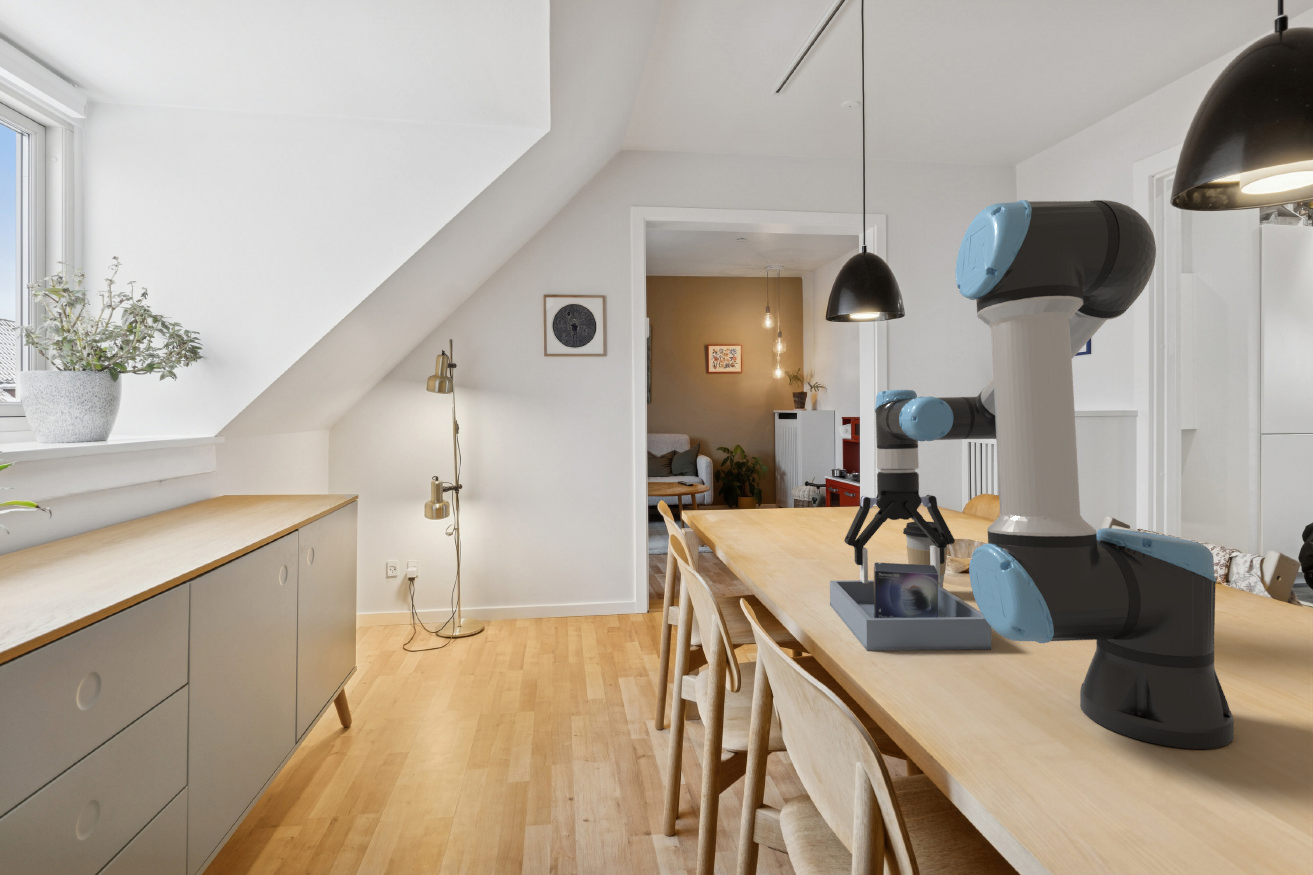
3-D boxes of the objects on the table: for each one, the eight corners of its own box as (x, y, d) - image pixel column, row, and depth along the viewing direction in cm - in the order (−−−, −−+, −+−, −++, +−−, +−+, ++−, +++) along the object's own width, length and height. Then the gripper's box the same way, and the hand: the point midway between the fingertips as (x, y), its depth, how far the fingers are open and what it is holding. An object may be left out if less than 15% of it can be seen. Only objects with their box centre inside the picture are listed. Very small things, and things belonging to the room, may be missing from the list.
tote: (991, 649, 107) (991, 618, 107) (866, 650, 108) (866, 620, 108) (930, 603, 133) (929, 579, 133) (830, 605, 134) (829, 580, 134)
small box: (874, 628, 117) (873, 569, 116) (873, 617, 123) (873, 561, 123) (939, 633, 114) (938, 572, 113) (935, 621, 120) (934, 564, 120)
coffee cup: (942, 588, 144) (942, 520, 144) (958, 600, 135) (957, 527, 134) (898, 588, 145) (897, 520, 145) (910, 600, 136) (909, 528, 135)
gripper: (954, 468, 130) (956, 575, 130) (827, 471, 131) (829, 578, 131) (972, 470, 123) (974, 584, 123) (837, 473, 123) (839, 586, 123)
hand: (899, 581), depth 127 cm, fingers open, 13 cm apart
